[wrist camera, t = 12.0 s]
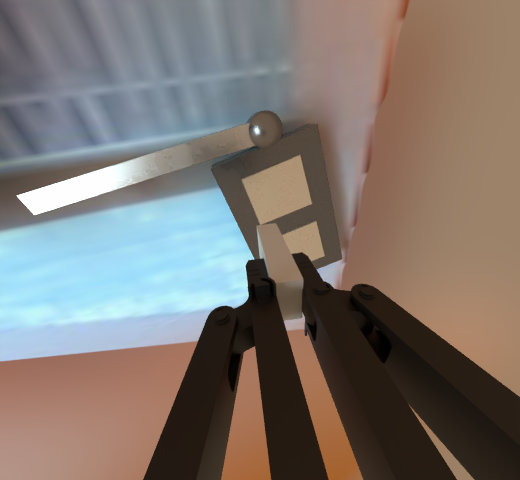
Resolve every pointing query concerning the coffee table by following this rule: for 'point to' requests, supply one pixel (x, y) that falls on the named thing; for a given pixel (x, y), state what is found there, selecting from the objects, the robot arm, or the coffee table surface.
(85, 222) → the coffee table surface
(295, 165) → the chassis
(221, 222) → the coffee table surface
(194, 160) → the ball-tipped flat stick
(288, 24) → the coffee table surface
